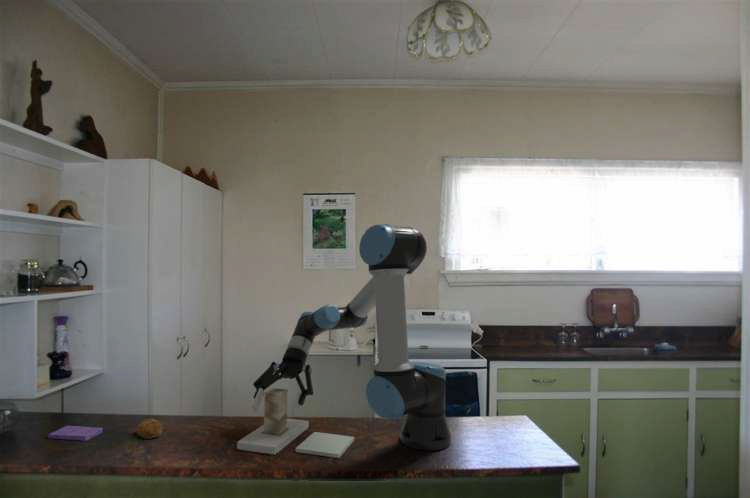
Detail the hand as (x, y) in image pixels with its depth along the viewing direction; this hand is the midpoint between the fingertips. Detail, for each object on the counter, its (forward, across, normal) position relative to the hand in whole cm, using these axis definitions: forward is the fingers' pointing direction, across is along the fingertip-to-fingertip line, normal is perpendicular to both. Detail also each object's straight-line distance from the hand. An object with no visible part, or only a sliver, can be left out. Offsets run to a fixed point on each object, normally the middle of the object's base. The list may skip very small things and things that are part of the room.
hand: (273, 411), depth 135 cm
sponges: (+18, +57, +6) cm, 60 cm away
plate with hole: (+5, -1, -6) cm, 8 cm away
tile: (+6, -18, -5) cm, 19 cm away
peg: (+5, -1, -6) cm, 8 cm away
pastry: (+12, +37, 0) cm, 39 cm away
